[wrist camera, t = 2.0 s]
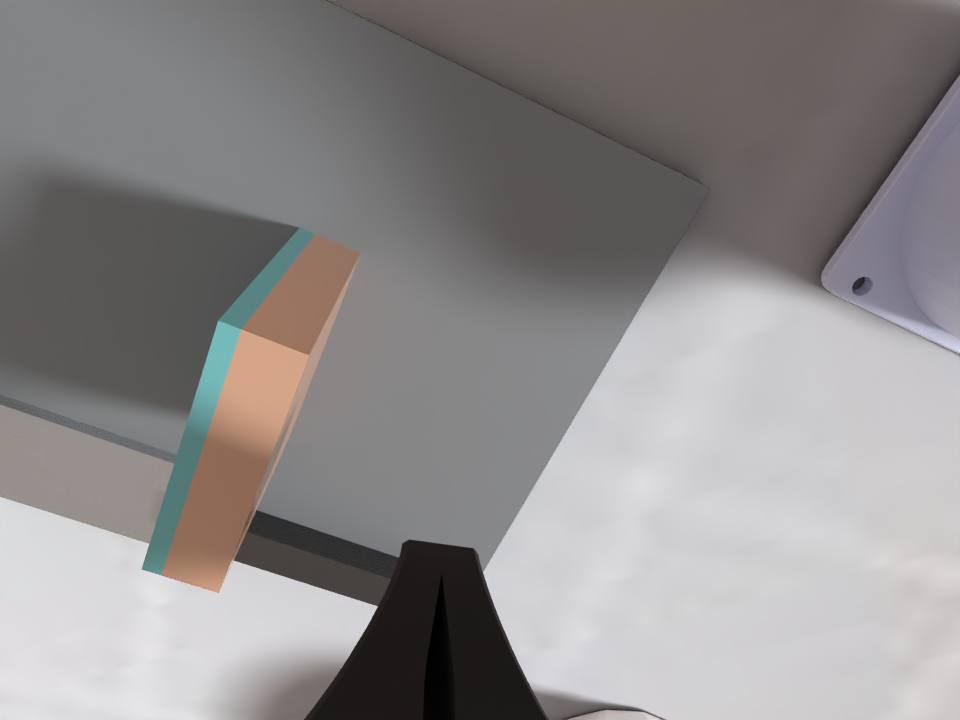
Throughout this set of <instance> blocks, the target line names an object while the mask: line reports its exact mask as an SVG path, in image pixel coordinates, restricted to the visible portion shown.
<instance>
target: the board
mask: <svg viewBox="0 0 960 720" xmlns="http://www.w3.org/2000/svg"><path fill="white" fill-rule="evenodd" d="M709 190H710V189H709V188H708V187H706V186H705V185H703V184H702V183H699V182H697V181H695V180H693V179H691V178H689V177H687V176H685V175H683V174H681V173H679V172H677V171H675V170H673V169H671V168H669V167H667V166H665V165H663V164H661V163H659V162H657V161H654V160H652V159H650V158H648V157H646V156H644V155H642V154H640V153H638V152H636V151H634V150H632V149H630V148H628V147H626V146H624V145H622V144H620V143H618V142H616V141H614V140H612V139H610V138H607V137H605V136H603V135H601V134H599V133H597V132H595V131H593V130H591V129H589V128H587V127H585V126H583V125H581V124H579V123H577V122H575V121H573V120H571V119H569V118H567V117H565V116H563V115H560V114H558V113H556V112H554V111H552V110H550V109H548V108H546V107H544V106H542V105H540V104H538V103H536V102H534V101H532V100H530V99H528V98H526V97H524V96H522V95H520V94H518V93H516V92H513V91H511V90H509V89H507V88H505V87H503V86H501V85H499V84H497V83H495V82H493V81H491V80H489V79H487V78H485V77H483V76H481V75H479V74H477V73H475V72H473V71H471V70H469V69H466V68H464V67H462V66H460V65H458V64H456V63H454V62H452V61H450V60H448V59H446V58H444V57H442V56H440V55H438V54H436V53H434V52H432V51H430V50H428V49H426V48H424V47H422V46H419V45H417V44H415V43H413V42H411V41H409V40H407V39H405V38H403V37H401V36H399V35H397V34H395V33H393V32H391V31H389V30H387V29H385V28H383V27H381V26H379V25H377V24H374V23H372V22H370V21H368V20H366V19H364V18H362V17H360V16H358V15H356V14H354V13H352V12H350V11H348V10H346V9H344V8H342V7H340V6H338V5H336V4H334V3H332V2H330V1H327V0H0V394H1V395H3V396H6V397H9V398H12V399H15V400H18V401H21V402H24V403H27V404H30V405H33V406H36V407H39V408H41V409H44V410H47V411H50V412H53V413H56V414H59V415H62V416H65V417H68V418H71V419H74V420H76V421H79V422H82V423H85V424H88V425H91V426H94V427H97V428H100V429H103V430H106V431H109V432H112V433H114V434H117V435H120V436H123V437H126V438H129V439H132V440H135V441H138V442H141V443H144V444H147V445H149V446H152V447H155V448H158V449H161V450H164V451H167V452H170V453H173V454H176V455H177V453H178V450H179V447H180V443H181V440H182V437H183V434H184V430H185V427H186V424H187V421H188V417H189V414H190V411H191V408H192V404H193V401H194V398H195V395H196V391H197V388H198V385H199V382H200V378H201V375H202V372H203V369H204V365H205V362H206V359H207V356H208V352H209V349H210V346H211V343H212V339H213V336H214V333H215V330H216V326H217V323H218V320H219V319H220V318H221V317H222V316H223V315H224V314H225V312H226V311H227V310H228V309H229V308H230V307H231V306H232V304H233V303H234V302H235V301H236V300H237V299H238V298H239V296H240V295H241V294H242V293H243V292H244V291H245V290H246V288H247V287H248V286H249V285H250V284H251V283H252V282H253V280H254V279H255V278H256V277H257V276H258V275H259V274H260V272H261V271H262V270H263V269H264V268H265V267H266V266H267V265H268V263H269V262H270V261H271V260H272V259H273V258H274V257H275V255H276V254H277V253H278V252H279V251H280V250H281V249H282V247H283V246H284V245H285V244H286V243H287V242H288V241H289V239H290V238H291V237H292V236H293V235H294V234H295V233H296V231H297V230H298V229H299V228H302V229H304V230H307V231H309V232H311V233H314V234H316V235H319V236H321V237H323V238H326V239H328V240H330V241H333V242H335V243H338V244H340V245H342V246H345V247H347V248H350V249H352V250H354V251H357V252H359V253H361V254H360V256H359V259H358V261H357V264H356V267H355V269H354V272H353V274H352V277H351V279H350V282H349V285H348V287H347V290H346V292H345V295H344V298H343V300H342V303H341V305H340V308H339V310H338V313H337V316H336V318H335V321H334V323H333V326H332V328H331V331H330V334H329V336H328V339H327V341H326V344H325V347H324V349H323V352H322V354H321V357H320V359H319V362H318V365H317V367H316V370H315V372H314V375H313V377H312V380H311V383H310V385H309V388H308V390H307V393H306V395H305V398H304V401H303V403H302V406H301V408H300V411H299V414H298V416H297V419H296V421H295V424H294V426H293V429H292V432H291V434H290V437H289V439H288V441H287V443H286V446H285V448H284V450H283V452H282V455H281V457H280V459H279V461H278V463H277V466H276V468H275V470H274V472H273V474H272V477H271V479H270V481H269V483H268V486H267V488H266V490H265V492H264V494H263V497H262V499H261V501H260V503H259V505H258V508H257V510H258V511H261V512H264V513H267V514H270V515H273V516H276V517H279V518H282V519H285V520H288V521H291V522H294V523H297V524H300V525H303V526H306V527H309V528H312V529H315V530H318V531H321V532H324V533H327V534H330V535H333V536H336V537H339V538H342V539H345V540H348V541H351V542H354V543H357V544H360V545H363V546H366V547H369V548H372V549H375V550H378V551H381V552H384V553H387V554H389V555H392V556H395V557H398V558H399V556H400V552H401V547H402V543H404V542H405V541H407V540H409V539H410V540H417V541H425V542H432V543H439V544H447V545H454V546H461V547H469V548H474V549H475V551H476V552H477V553H478V555H479V560H480V564H481V567H482V571H484V570H485V568H486V566H487V564H488V563H489V561H490V559H491V558H492V556H493V554H494V553H495V551H496V549H497V548H498V546H499V544H500V543H501V541H502V539H503V538H504V536H505V534H506V532H507V531H508V529H509V527H510V526H511V524H512V522H513V521H514V519H515V517H516V516H517V514H518V512H519V511H520V509H521V507H522V505H523V504H524V502H525V500H526V499H527V497H528V495H529V494H530V492H531V490H532V489H533V487H534V485H535V484H536V482H537V480H538V478H539V477H540V475H541V473H542V472H543V470H544V468H545V467H546V465H547V463H548V462H549V460H550V458H551V457H552V455H553V453H554V452H555V450H556V448H557V446H558V445H559V443H560V441H561V440H562V438H563V436H564V435H565V433H566V431H567V430H568V428H569V426H570V425H571V423H572V421H573V419H574V418H575V416H576V414H577V413H578V411H579V409H580V408H581V406H582V404H583V403H584V401H585V399H586V398H587V396H588V394H589V393H590V391H591V389H592V387H593V386H594V384H595V382H596V381H597V379H598V377H599V376H600V374H601V372H602V371H603V369H604V367H605V366H606V364H607V362H608V360H609V359H610V357H611V355H612V354H613V352H614V350H615V349H616V347H617V345H618V344H619V342H620V340H621V339H622V337H623V335H624V333H625V332H626V330H627V328H628V327H629V325H630V323H631V322H632V320H633V318H634V317H635V315H636V313H637V312H638V310H639V308H640V307H641V305H642V303H643V301H644V300H645V298H646V296H647V295H648V293H649V291H650V290H651V288H652V286H653V285H654V283H655V281H656V280H657V278H658V276H659V274H660V273H661V271H662V269H663V268H664V266H665V264H666V263H667V261H668V259H669V258H670V256H671V254H672V253H673V251H674V249H675V247H676V246H677V244H678V242H679V241H680V239H681V237H682V236H683V234H684V232H685V231H686V229H687V227H688V226H689V224H690V222H691V221H692V219H693V217H694V215H695V214H696V212H697V210H698V209H699V207H700V205H701V204H702V202H703V200H704V199H705V197H706V195H707V194H708V192H709Z"/></svg>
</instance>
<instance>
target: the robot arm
mask: <svg viewBox="0 0 960 720" xmlns="http://www.w3.org/2000/svg"><path fill="white" fill-rule="evenodd" d="M861 277H865V281H864V284H863V285H862V286H861V287H860V288H859V289H857V290H854V291H852V286H853V284H854V282H855V281H856V280H857V279H858V278H861ZM821 282H822V284H823V286H824V287H825V288H826V289H827V290H828V291H830V292H831V293H832V294H834V295H836V296H838V297H840V298H842V299H844V300H846V301H848V302H850V303H852V304H855V305H857V306H859V307H861V308H863V309H865V310H867V311H869V312H871V313H874V314H876V315H878V316H880V317H882V318H884V319H886V320H888V321H890V322H893V323H895V324H897V325H899V326H901V327H903V328H905V329H907V330H909V331H912V332H914V333H916V334H918V335H920V336H922V337H924V338H926V339H928V340H931V341H933V342H935V343H937V344H939V345H941V346H943V347H945V348H947V349H950V350H952V351H954V352H956V353H958V354H960V75H959V76H958V78H957V79H956V80H955V82H954V83H953V85H952V86H951V88H950V89H949V90H948V92H947V93H946V95H945V96H944V98H943V99H942V100H941V102H940V103H939V105H938V106H937V108H936V109H935V110H934V112H933V113H932V115H931V116H930V118H929V119H928V120H927V122H926V123H925V125H924V126H923V128H922V129H921V130H920V132H919V133H918V135H917V136H916V138H915V139H914V140H913V142H912V143H911V145H910V146H909V148H908V149H907V150H906V152H905V153H904V155H903V156H902V158H901V159H900V160H899V162H898V163H897V165H896V166H895V168H894V169H893V170H892V172H891V173H890V175H889V176H888V178H887V179H886V180H885V182H884V183H883V185H882V186H881V188H880V189H879V190H878V192H877V193H876V195H875V196H874V198H873V199H872V200H871V202H870V203H869V205H868V206H867V208H866V209H865V210H864V212H863V213H862V215H861V216H860V218H859V219H858V220H857V222H856V223H855V225H854V226H853V228H852V229H851V230H850V232H849V233H848V235H847V236H846V238H845V239H844V240H843V242H842V243H841V245H840V246H839V248H838V249H837V250H836V252H835V253H834V255H833V256H832V258H831V259H830V260H829V262H828V263H827V265H826V266H825V268H824V270H823V272H822V275H821ZM304 720H549V719H548V718H547V716H546V714H545V713H544V711H543V709H542V707H541V706H540V704H539V702H538V700H537V698H536V696H535V695H534V693H533V691H532V689H531V687H530V685H529V683H528V681H527V679H526V677H525V675H524V673H523V671H522V669H521V667H520V665H519V663H518V661H517V659H516V656H515V654H514V652H513V650H512V648H511V645H510V643H509V641H508V638H507V636H506V634H505V631H504V629H503V627H502V624H501V622H500V620H499V617H498V614H497V612H496V609H495V607H494V604H493V601H492V598H491V596H490V593H489V590H488V587H487V584H486V581H485V578H484V574H483V571H482V567H481V564H480V560H479V555H478V553H477V552H476V551H475V549H474V548H469V547H461V546H454V545H447V544H439V543H432V542H425V541H417V540H410V539H409V540H407V541H405V542H404V543H402V547H401V552H400V556H399V559H398V563H397V566H396V568H395V571H394V574H393V576H392V578H391V581H390V583H389V585H388V587H387V590H386V592H385V594H384V596H383V598H382V600H381V602H380V604H379V606H378V608H377V609H376V611H375V613H374V615H373V617H372V619H371V621H370V623H369V625H368V626H367V628H366V630H365V632H364V633H363V635H362V636H361V638H360V640H359V641H358V643H357V645H356V646H355V648H354V649H353V651H352V653H351V654H350V656H349V658H348V659H347V661H346V662H345V664H344V665H343V667H342V668H341V670H340V671H339V673H338V674H337V676H336V677H335V679H334V680H333V682H332V683H331V684H330V686H329V687H328V689H327V690H326V691H325V693H324V694H323V695H322V697H321V698H320V700H319V701H318V702H317V704H316V705H315V706H314V708H313V709H312V710H311V711H310V713H309V714H308V715H307V717H306V718H305V719H304Z"/></svg>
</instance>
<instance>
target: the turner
mask: <svg viewBox="0 0 960 720" xmlns="http://www.w3.org/2000/svg"><path fill="white" fill-rule="evenodd" d="M176 456H177V455H176V454H173V453H170V452H167V451H164V450H161V449H158V448H155V447H152V446H149V445H147V444H144V443H141V442H138V441H135V440H132V439H129V438H126V437H123V436H120V435H117V434H114V433H112V432H109V431H106V430H103V429H100V428H97V427H94V426H91V425H88V424H85V423H82V422H79V421H76V420H74V419H71V418H68V417H65V416H62V415H59V414H56V413H53V412H50V411H47V410H44V409H41V408H39V407H36V406H33V405H30V404H27V403H24V402H21V401H18V400H15V399H12V398H9V397H6V396H3V395H1V394H0V497H3V498H6V499H10V500H13V501H16V502H19V503H22V504H25V505H29V506H32V507H35V508H38V509H41V510H44V511H48V512H51V513H54V514H57V515H60V516H63V517H67V518H70V519H73V520H76V521H79V522H82V523H86V524H89V525H92V526H95V527H98V528H101V529H105V530H108V531H111V532H114V533H117V534H120V535H124V536H127V537H130V538H133V539H136V540H140V541H143V542H146V543H149V544H150V541H151V538H152V534H153V531H154V528H155V525H156V521H157V518H158V515H159V512H160V508H161V505H162V502H163V499H164V495H165V492H166V489H167V486H168V482H169V479H170V476H171V473H172V469H173V466H174V463H175V460H176ZM398 559H399V558H398V557H395V556H392V555H389V554H387V553H384V552H381V551H378V550H375V549H372V548H369V547H366V546H363V545H360V544H357V543H354V542H351V541H348V540H345V539H342V538H339V537H336V536H333V535H330V534H327V533H324V532H321V531H318V530H315V529H312V528H309V527H306V526H303V525H300V524H297V523H294V522H291V521H288V520H285V519H282V518H279V517H276V516H273V515H270V514H267V513H264V512H261V511H258V510H256V512H255V514H254V517H253V519H252V521H251V523H250V525H249V528H248V530H247V532H246V534H245V537H244V539H243V541H242V543H241V545H240V548H239V550H238V552H237V554H236V556H235V559H234V561H237V562H241V563H244V564H247V565H250V566H253V567H256V568H259V569H263V570H266V571H269V572H272V573H275V574H278V575H281V576H285V577H288V578H291V579H294V580H297V581H300V582H303V583H307V584H310V585H313V586H316V587H319V588H322V589H325V590H329V591H332V592H335V593H338V594H341V595H344V596H347V597H351V598H354V599H357V600H360V601H363V602H366V603H369V604H372V605H376V606H379V604H380V602H381V600H382V598H383V596H384V594H385V592H386V590H387V587H388V585H389V583H390V581H391V578H392V576H393V574H394V571H395V568H396V566H397V563H398Z"/></svg>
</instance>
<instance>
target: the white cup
mask: <svg viewBox="0 0 960 720" xmlns="http://www.w3.org/2000/svg"><path fill="white" fill-rule="evenodd" d="M567 720H662V719H659V718H657V717H655V716H652V715H650V714H647V713H645V712H636V711H621V710H602V711H598V712H594V713H589V714H585V715H581V716H578V717H574V718H570V719H567Z"/></svg>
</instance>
